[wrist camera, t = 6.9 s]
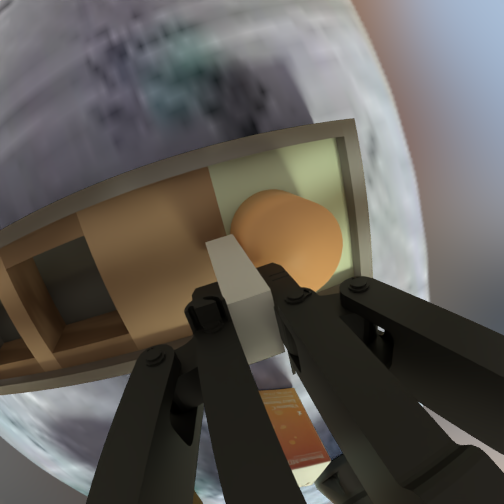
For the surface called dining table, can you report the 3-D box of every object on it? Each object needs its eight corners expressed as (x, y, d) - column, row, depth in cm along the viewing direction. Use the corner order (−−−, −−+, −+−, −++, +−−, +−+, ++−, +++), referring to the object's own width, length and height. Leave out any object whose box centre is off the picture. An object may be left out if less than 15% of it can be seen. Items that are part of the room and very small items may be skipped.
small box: (294, 385, 29) (334, 459, 19) (281, 416, 30) (313, 485, 21) (221, 389, 26) (245, 477, 17) (216, 421, 28) (235, 499, 18)
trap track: (337, 263, 24) (373, 290, 19) (13, 360, 20) (-5, 395, 15) (314, 124, 20) (354, 118, 15) (-42, 256, 15) (-74, 279, 10)
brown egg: (317, 252, 18) (349, 276, 15) (245, 281, 18) (263, 314, 14) (298, 178, 16) (331, 186, 13) (218, 206, 16) (230, 223, 12)
